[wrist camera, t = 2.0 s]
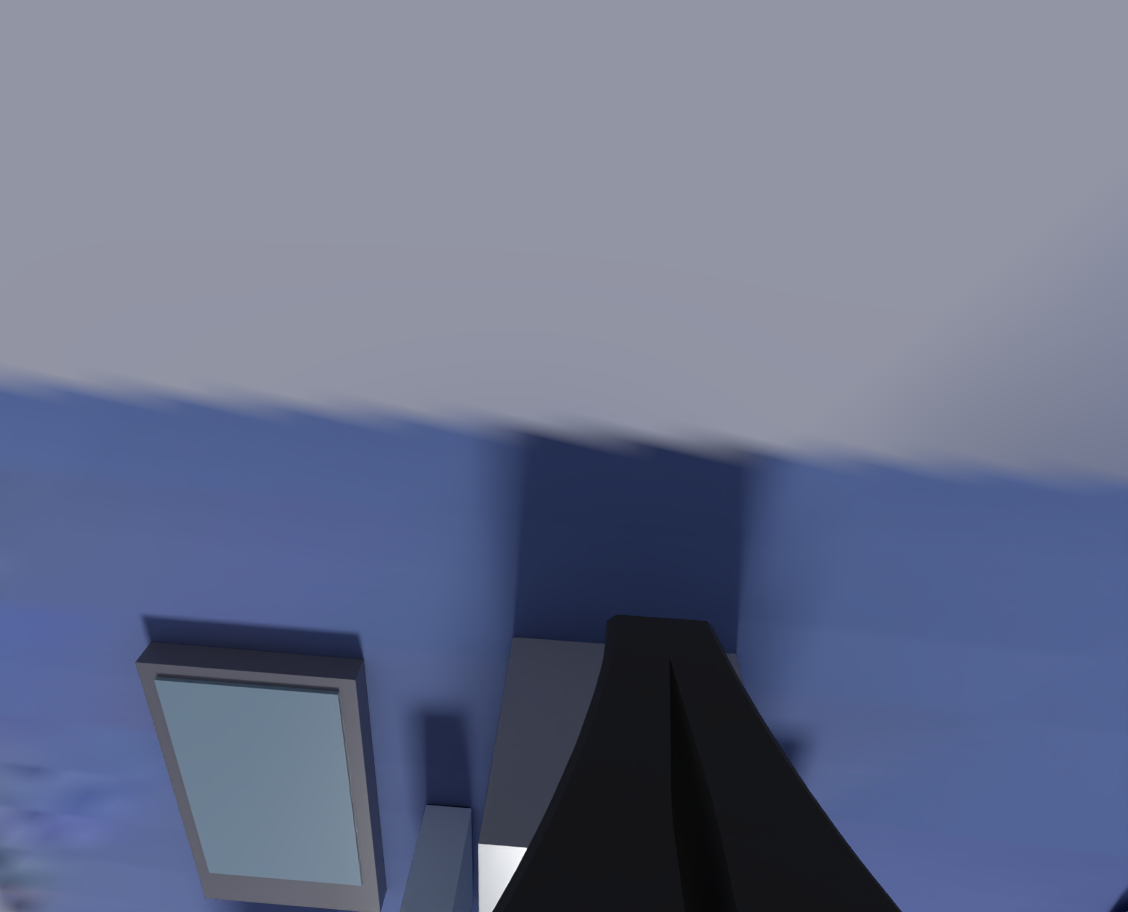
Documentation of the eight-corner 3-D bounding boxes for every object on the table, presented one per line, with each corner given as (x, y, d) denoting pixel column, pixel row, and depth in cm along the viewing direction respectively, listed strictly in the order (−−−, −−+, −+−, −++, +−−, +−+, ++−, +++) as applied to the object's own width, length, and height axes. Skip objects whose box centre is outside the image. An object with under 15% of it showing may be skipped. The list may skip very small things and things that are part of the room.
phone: (370, 642, 17) (353, 683, 16) (391, 872, 22) (379, 917, 20) (164, 626, 17) (132, 665, 16) (225, 857, 22) (203, 901, 21)
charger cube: (735, 651, 16) (784, 874, 12) (704, 797, 19) (734, 1029, 14) (513, 634, 16) (477, 849, 12) (510, 781, 19) (479, 1007, 14)
